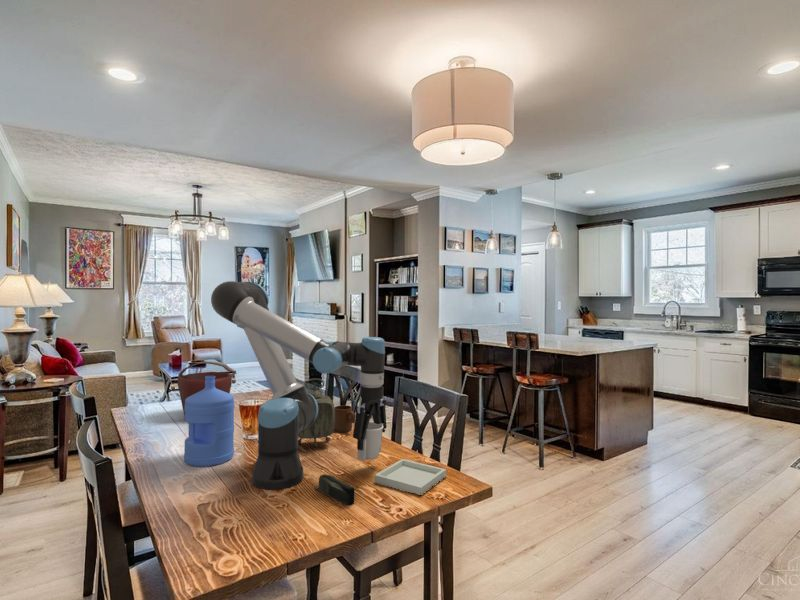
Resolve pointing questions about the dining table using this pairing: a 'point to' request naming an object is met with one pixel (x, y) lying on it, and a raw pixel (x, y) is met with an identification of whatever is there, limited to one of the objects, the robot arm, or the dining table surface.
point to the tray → (410, 476)
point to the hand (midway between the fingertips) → (369, 455)
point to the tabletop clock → (320, 417)
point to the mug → (343, 418)
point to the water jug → (209, 426)
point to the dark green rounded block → (336, 489)
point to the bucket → (203, 381)
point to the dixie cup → (373, 440)
